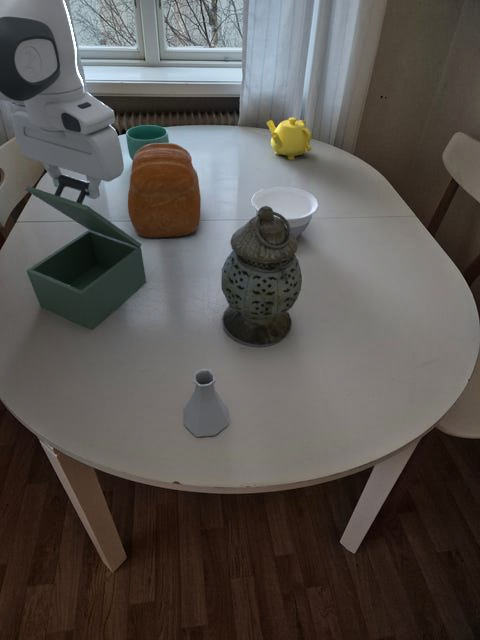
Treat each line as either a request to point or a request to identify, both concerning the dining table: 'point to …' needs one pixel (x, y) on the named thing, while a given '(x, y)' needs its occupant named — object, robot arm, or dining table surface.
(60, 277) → the chest
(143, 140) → the mug
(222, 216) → the dining table surface
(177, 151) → the bread
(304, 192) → the bowl
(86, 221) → the chest lid
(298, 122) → the teapot
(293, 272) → the lantern
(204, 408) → the flask
